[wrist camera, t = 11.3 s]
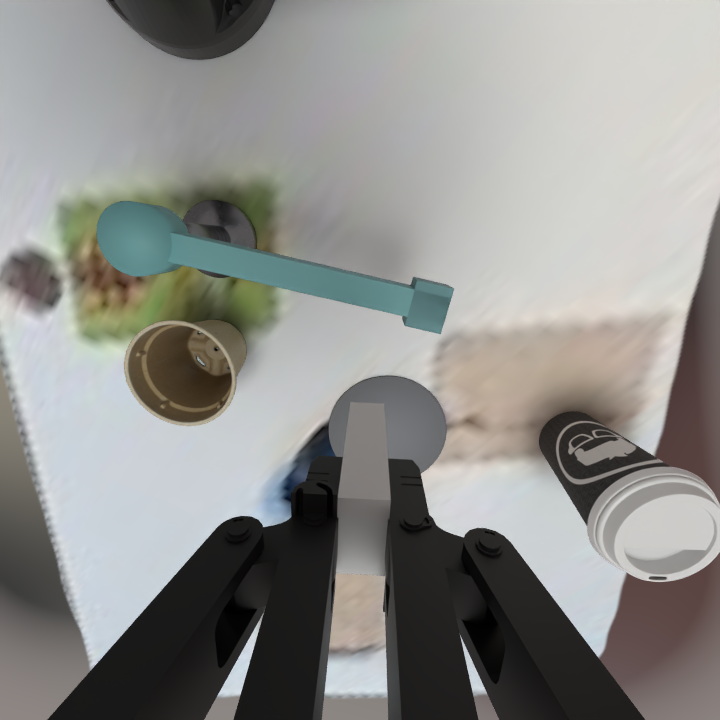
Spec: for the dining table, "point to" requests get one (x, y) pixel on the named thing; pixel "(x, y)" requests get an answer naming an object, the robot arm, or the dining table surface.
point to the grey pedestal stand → (220, 225)
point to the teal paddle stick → (256, 265)
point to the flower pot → (185, 369)
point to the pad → (396, 418)
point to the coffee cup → (633, 500)
